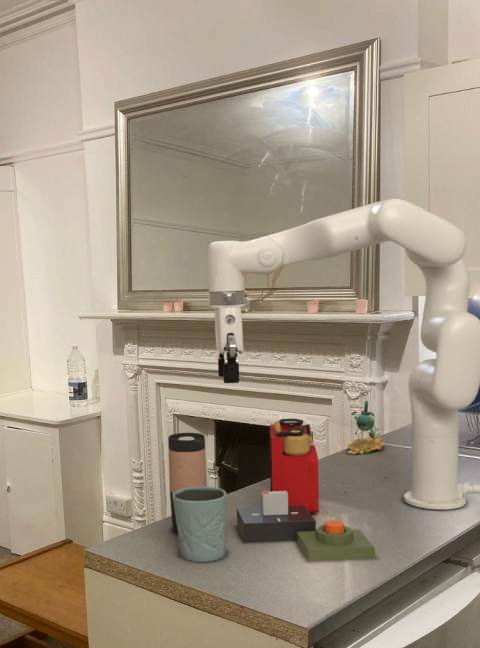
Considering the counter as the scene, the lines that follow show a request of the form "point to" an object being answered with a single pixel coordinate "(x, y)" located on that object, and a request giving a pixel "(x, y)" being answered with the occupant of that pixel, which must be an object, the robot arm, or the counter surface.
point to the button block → (335, 545)
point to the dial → (274, 503)
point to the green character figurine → (364, 424)
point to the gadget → (273, 524)
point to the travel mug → (186, 464)
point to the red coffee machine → (294, 463)
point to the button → (334, 527)
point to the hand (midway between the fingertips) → (228, 379)
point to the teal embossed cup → (201, 522)
